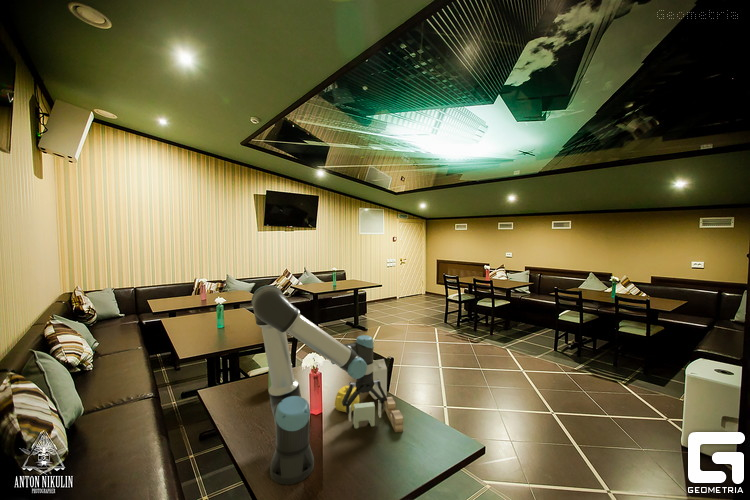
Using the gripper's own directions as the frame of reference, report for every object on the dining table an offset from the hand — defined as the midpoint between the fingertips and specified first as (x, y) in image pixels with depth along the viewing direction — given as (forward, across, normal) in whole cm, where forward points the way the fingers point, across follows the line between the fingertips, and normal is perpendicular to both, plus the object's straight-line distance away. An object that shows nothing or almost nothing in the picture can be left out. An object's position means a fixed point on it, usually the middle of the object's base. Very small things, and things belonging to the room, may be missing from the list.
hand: (364, 418), depth 134 cm
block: (+3, 0, 0) cm, 3 cm away
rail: (+3, -14, -1) cm, 14 cm away
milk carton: (+4, -12, -24) cm, 27 cm away
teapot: (+3, +6, -14) cm, 16 cm away
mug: (+3, +41, -41) cm, 58 cm away
